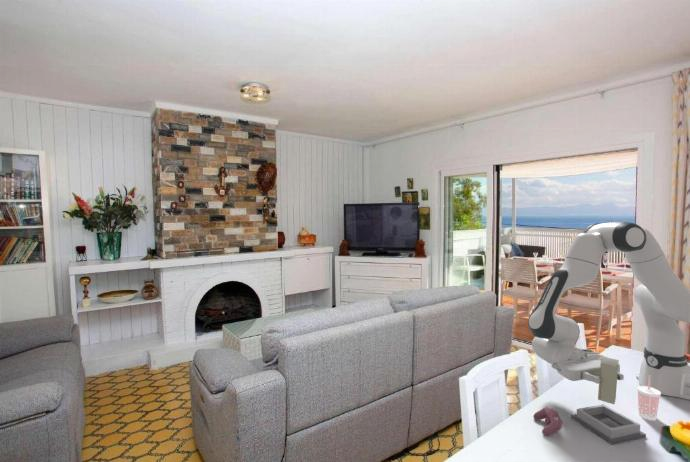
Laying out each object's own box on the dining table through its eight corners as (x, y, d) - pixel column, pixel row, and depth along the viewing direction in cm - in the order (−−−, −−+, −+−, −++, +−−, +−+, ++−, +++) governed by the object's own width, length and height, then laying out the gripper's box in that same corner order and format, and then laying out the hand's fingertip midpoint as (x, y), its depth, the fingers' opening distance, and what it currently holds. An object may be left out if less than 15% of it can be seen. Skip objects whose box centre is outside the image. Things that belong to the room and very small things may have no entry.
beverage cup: (658, 414, 122) (660, 374, 121) (661, 424, 117) (663, 381, 116) (634, 409, 125) (636, 369, 124) (636, 418, 120) (638, 376, 119)
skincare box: (599, 392, 119) (601, 355, 118) (616, 397, 116) (618, 359, 115) (597, 400, 114) (599, 362, 113) (615, 405, 111) (617, 366, 110)
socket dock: (602, 412, 124) (602, 402, 124) (645, 437, 110) (646, 426, 110) (571, 418, 120) (571, 407, 120) (612, 444, 107) (612, 433, 107)
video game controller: (556, 442, 111) (568, 423, 110) (541, 434, 111) (553, 415, 110) (544, 423, 120) (555, 406, 119) (531, 416, 121) (542, 398, 120)
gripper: (548, 355, 124) (584, 373, 111) (596, 349, 129) (636, 366, 116) (547, 373, 124) (583, 393, 111) (595, 366, 130) (635, 385, 116)
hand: (611, 379), depth 113 cm, fingers closed on skincare box, 7 cm apart
